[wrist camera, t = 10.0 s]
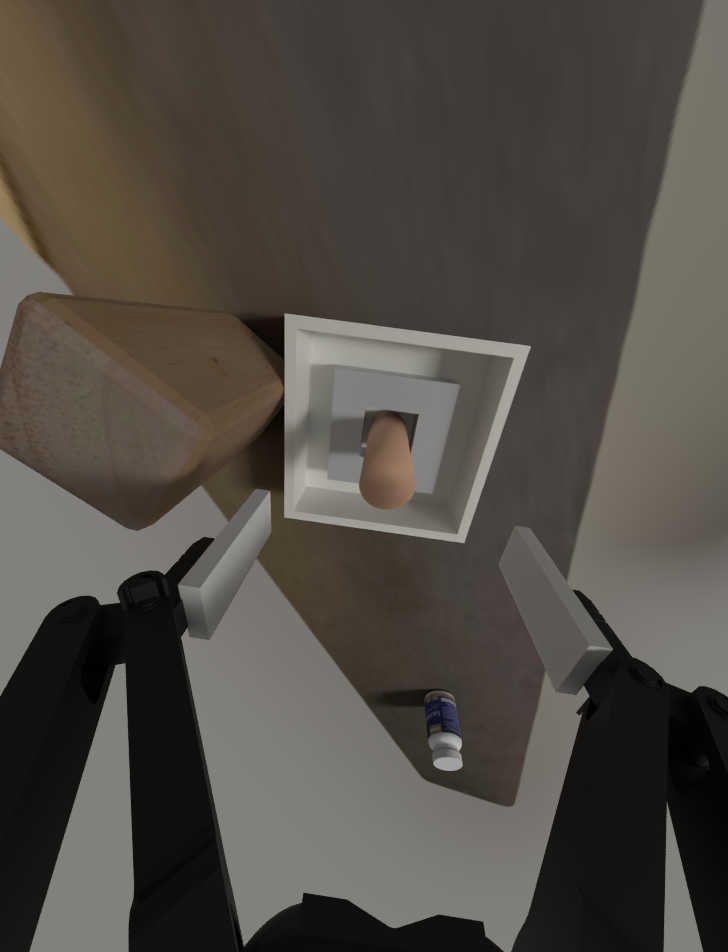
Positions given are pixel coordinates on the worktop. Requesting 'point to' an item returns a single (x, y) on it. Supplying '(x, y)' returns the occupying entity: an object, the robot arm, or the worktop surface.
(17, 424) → the wooden block
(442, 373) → the tub
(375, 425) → the peg
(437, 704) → the pill bottle
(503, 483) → the worktop surface
